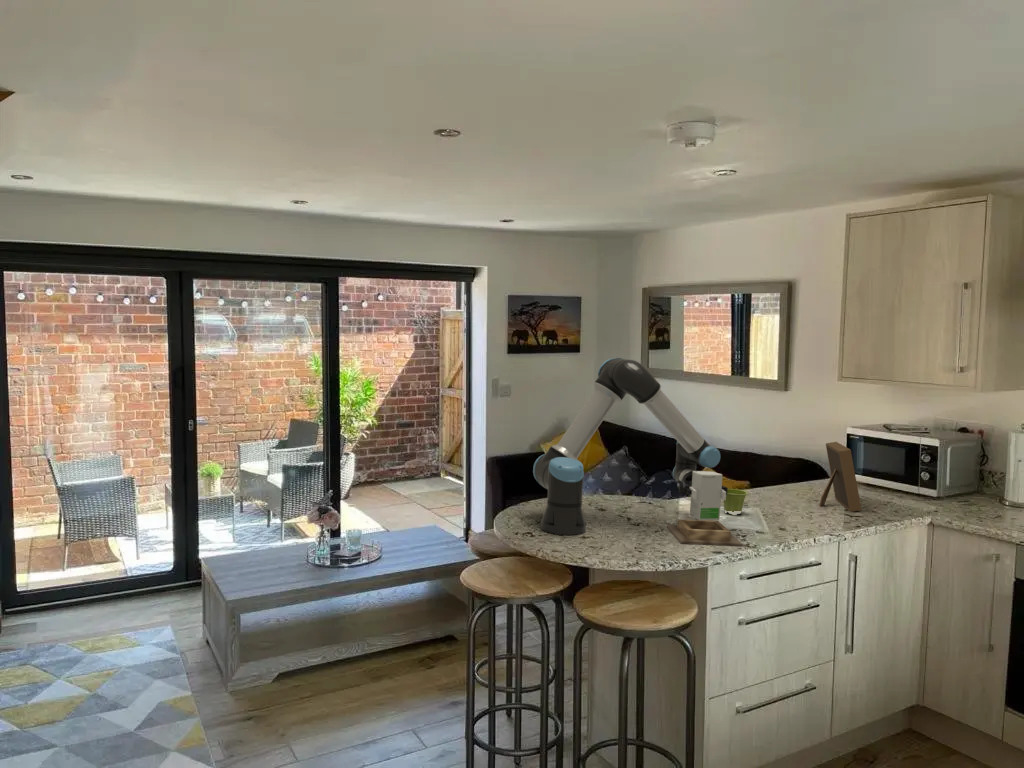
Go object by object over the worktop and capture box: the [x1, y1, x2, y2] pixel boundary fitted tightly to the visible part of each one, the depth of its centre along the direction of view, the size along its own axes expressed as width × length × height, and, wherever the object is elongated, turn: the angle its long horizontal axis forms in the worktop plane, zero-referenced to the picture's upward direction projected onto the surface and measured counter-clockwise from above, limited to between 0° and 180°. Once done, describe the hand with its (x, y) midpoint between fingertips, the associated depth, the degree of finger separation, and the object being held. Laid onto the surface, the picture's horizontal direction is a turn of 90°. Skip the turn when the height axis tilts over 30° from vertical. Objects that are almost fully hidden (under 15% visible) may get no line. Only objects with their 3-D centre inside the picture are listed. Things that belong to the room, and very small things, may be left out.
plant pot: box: [723, 488, 748, 512], centre depth 288 cm, size 9×9×9 cm
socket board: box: [666, 518, 743, 547], centre depth 253 cm, size 20×20×4 cm
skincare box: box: [689, 470, 723, 521], centre depth 252 cm, size 8×7×16 cm
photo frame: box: [818, 441, 862, 513], centre depth 311 cm, size 15×22×25 cm
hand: (710, 495), depth 248 cm, fingers closed on skincare box, 9 cm apart
